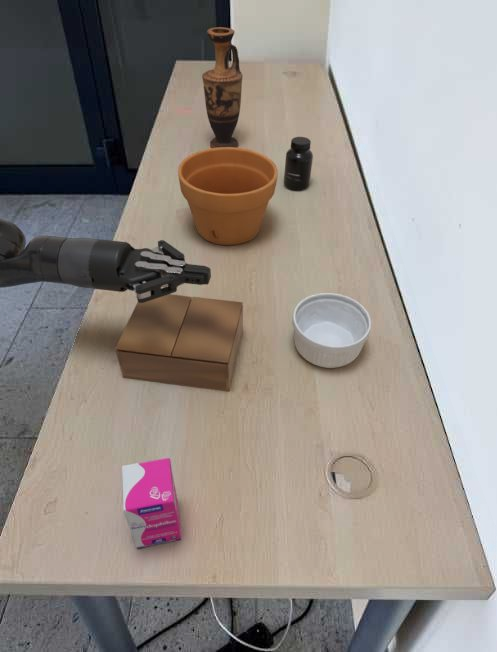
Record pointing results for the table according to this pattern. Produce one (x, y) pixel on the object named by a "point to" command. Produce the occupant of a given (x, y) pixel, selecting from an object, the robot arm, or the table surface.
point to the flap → (155, 325)
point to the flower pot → (227, 192)
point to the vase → (223, 89)
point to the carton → (194, 349)
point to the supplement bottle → (298, 164)
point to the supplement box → (151, 502)
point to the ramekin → (330, 329)
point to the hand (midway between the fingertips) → (209, 276)
